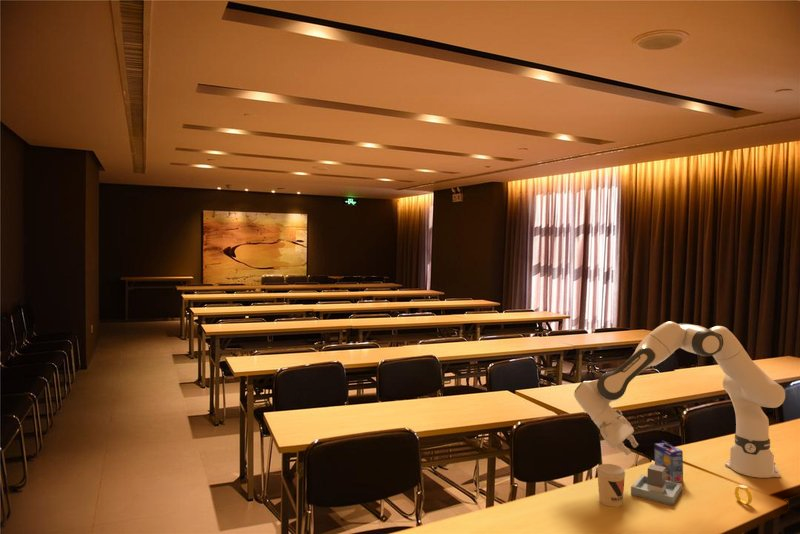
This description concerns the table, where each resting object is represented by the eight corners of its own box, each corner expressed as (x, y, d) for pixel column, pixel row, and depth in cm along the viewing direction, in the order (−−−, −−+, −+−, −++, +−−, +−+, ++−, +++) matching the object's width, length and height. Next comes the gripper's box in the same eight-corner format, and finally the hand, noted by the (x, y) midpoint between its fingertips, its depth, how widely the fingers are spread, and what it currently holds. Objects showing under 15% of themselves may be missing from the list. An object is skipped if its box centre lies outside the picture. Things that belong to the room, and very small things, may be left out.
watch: (733, 500, 194) (732, 483, 194) (739, 499, 195) (738, 482, 195) (748, 506, 188) (747, 489, 189) (754, 505, 189) (753, 488, 189)
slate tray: (641, 482, 210) (641, 474, 209) (681, 491, 201) (681, 483, 201) (630, 494, 199) (630, 486, 199) (672, 505, 190) (672, 497, 190)
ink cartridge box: (653, 473, 218) (653, 437, 217) (665, 471, 219) (665, 436, 219) (671, 483, 208) (672, 446, 208) (683, 481, 210) (683, 444, 209)
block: (651, 486, 203) (651, 464, 203) (665, 490, 200) (665, 467, 200) (647, 491, 199) (647, 468, 199) (662, 494, 196) (662, 471, 196)
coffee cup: (612, 510, 187) (612, 475, 187) (591, 499, 195) (591, 466, 195) (630, 504, 191) (631, 470, 191) (609, 493, 200) (609, 461, 199)
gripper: (603, 421, 201) (631, 453, 195) (620, 409, 216) (646, 438, 211) (591, 431, 203) (618, 463, 198) (609, 418, 219) (634, 447, 214)
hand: (633, 450), depth 204 cm, fingers open, 8 cm apart
